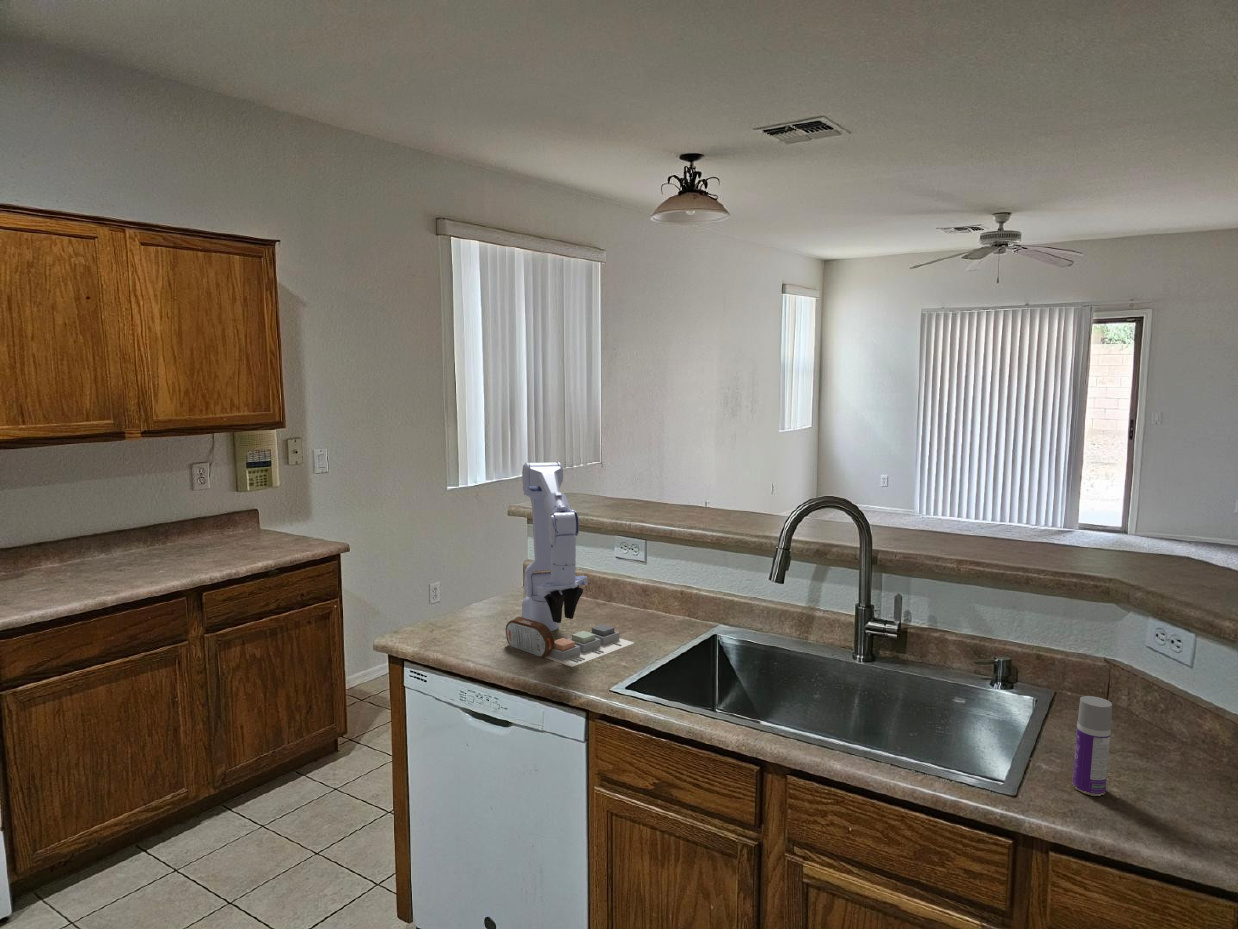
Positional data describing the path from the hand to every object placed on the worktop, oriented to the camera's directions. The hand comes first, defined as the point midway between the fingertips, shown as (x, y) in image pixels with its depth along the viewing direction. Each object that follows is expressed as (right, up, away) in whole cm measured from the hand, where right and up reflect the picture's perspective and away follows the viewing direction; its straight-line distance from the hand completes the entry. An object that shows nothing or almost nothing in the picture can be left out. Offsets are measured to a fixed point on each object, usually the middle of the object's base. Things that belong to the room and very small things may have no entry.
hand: (563, 620), depth 183 cm
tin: (-8, -9, +4) cm, 13 cm away
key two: (+5, -7, +6) cm, 10 cm away
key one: (+9, -6, +11) cm, 16 cm away
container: (+90, -17, -55) cm, 107 cm away
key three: (0, -7, +1) cm, 7 cm away
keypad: (+5, -9, +5) cm, 12 cm away
